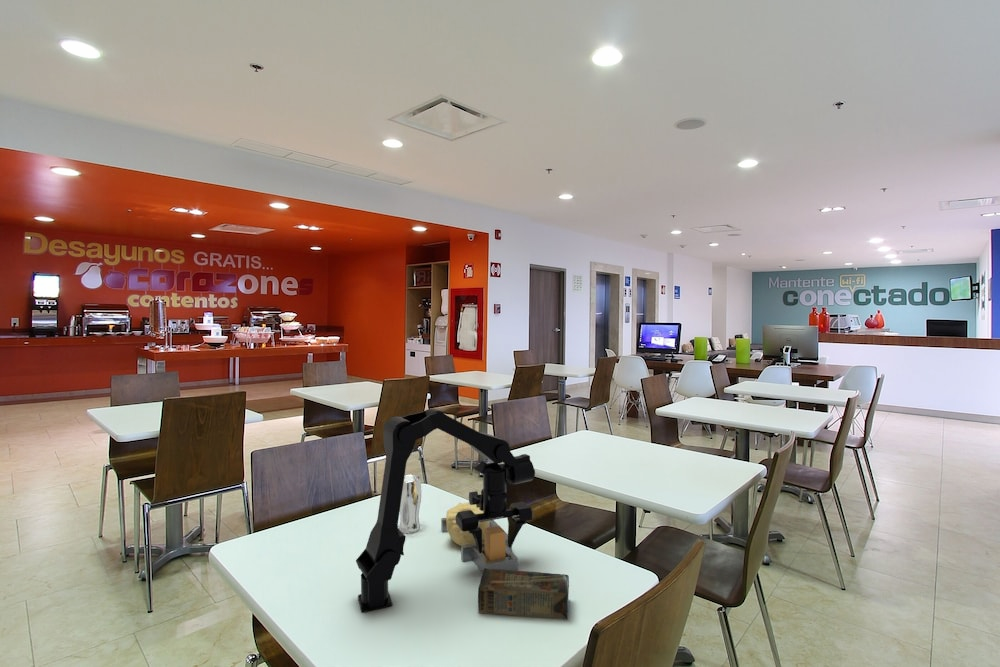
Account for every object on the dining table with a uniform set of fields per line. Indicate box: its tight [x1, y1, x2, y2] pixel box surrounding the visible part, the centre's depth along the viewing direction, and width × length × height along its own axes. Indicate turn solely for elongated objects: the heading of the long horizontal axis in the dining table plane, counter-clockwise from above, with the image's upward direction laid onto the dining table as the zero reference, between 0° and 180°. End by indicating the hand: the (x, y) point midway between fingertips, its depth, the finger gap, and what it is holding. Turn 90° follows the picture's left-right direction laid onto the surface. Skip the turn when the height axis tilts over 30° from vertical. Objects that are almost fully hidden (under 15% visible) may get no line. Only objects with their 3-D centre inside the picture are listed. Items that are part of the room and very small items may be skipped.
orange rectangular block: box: [484, 525, 506, 561], centre depth 125 cm, size 4×4×9 cm
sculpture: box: [445, 502, 490, 547], centre depth 138 cm, size 12×12×11 cm
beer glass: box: [398, 474, 422, 534], centre depth 146 cm, size 7×7×15 cm
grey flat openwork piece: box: [440, 517, 519, 575], centre depth 134 cm, size 29×14×4 cm, turn 22°
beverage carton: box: [477, 568, 570, 620], centre depth 107 cm, size 8×19×7 cm, turn 83°
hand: (494, 549), depth 125 cm, fingers open, 8 cm apart
